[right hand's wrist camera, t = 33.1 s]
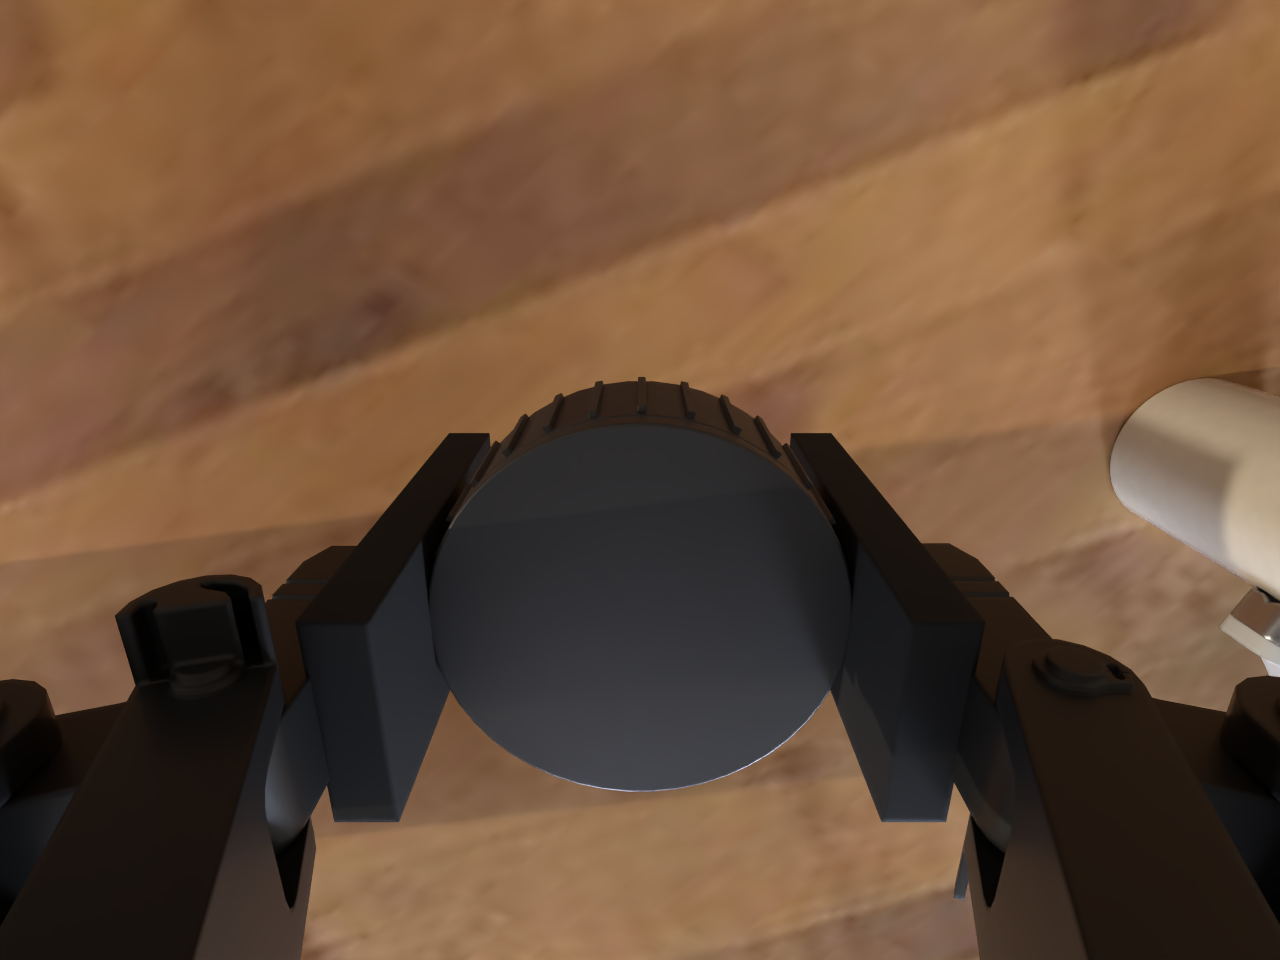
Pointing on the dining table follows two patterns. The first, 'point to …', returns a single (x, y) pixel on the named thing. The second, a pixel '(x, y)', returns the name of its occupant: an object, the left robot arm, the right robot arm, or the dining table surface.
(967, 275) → the dining table surface
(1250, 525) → the jar
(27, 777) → the right robot arm
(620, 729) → the lid
